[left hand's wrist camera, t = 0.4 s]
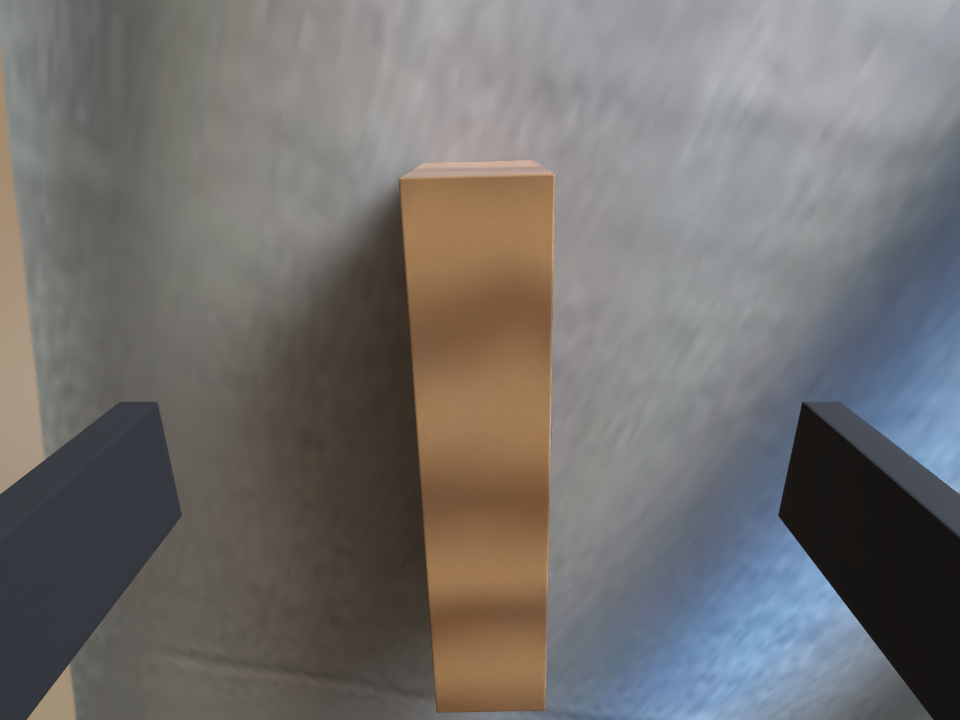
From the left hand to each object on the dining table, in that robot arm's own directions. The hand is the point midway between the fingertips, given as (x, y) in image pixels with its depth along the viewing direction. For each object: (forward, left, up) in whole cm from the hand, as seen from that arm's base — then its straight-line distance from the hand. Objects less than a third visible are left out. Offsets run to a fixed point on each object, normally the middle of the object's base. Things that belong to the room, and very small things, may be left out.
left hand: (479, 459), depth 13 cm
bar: (+8, +2, -22) cm, 23 cm away
